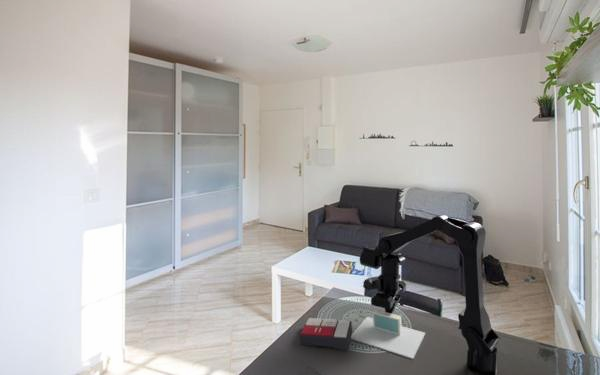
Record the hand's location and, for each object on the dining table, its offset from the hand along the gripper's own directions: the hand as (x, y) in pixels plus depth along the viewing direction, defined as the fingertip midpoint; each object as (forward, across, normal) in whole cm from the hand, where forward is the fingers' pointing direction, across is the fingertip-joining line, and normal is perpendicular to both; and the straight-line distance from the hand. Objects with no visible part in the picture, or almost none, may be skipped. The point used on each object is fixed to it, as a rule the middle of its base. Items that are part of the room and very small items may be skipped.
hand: (389, 317), depth 108 cm
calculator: (+4, +16, -15) cm, 22 cm away
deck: (+4, +1, 0) cm, 4 cm away
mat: (+4, +4, +1) cm, 6 cm away
